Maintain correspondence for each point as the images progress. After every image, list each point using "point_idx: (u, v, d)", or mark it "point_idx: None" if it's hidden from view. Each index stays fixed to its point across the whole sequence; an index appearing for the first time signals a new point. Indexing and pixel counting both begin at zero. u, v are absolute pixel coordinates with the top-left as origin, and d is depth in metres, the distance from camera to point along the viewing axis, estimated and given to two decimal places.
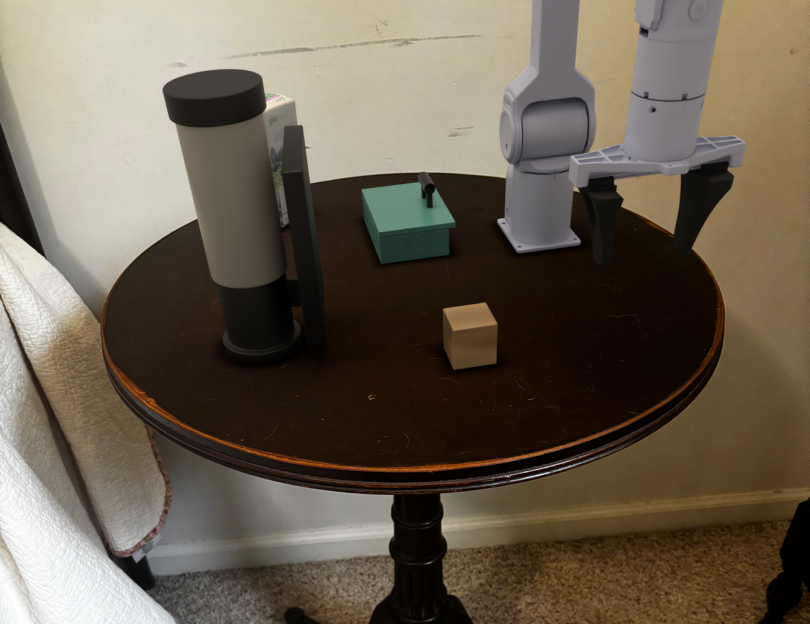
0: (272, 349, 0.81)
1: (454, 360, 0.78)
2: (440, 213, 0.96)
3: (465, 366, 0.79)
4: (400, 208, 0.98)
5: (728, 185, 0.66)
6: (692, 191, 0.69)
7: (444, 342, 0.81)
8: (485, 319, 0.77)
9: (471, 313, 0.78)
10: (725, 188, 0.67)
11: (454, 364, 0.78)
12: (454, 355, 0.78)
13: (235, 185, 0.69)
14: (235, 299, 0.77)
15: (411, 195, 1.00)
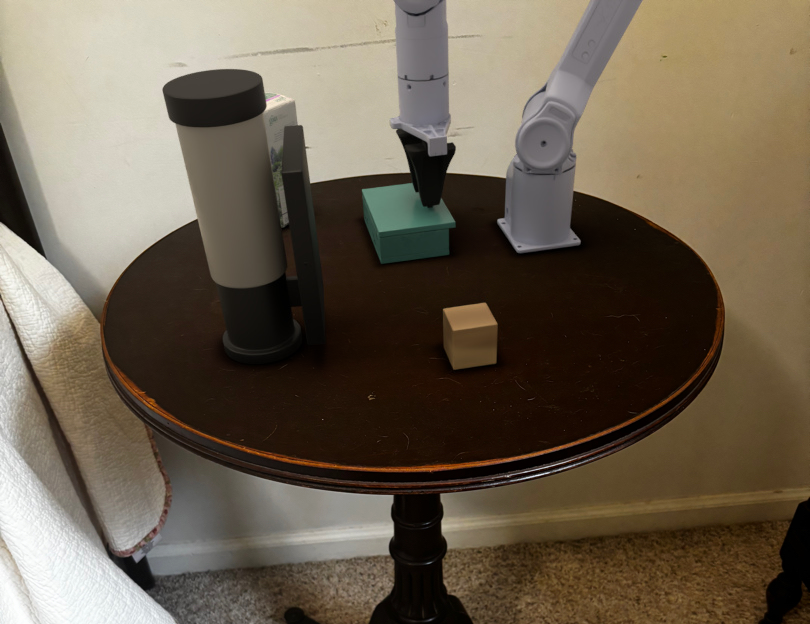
0: (272, 349, 0.81)
1: (454, 360, 0.78)
2: (440, 213, 0.96)
3: (465, 366, 0.79)
4: (400, 208, 0.98)
5: (408, 154, 0.91)
6: None
7: (444, 342, 0.81)
8: (485, 319, 0.77)
9: (471, 313, 0.78)
10: (409, 156, 0.91)
11: (454, 364, 0.78)
12: (454, 355, 0.78)
13: (235, 185, 0.69)
14: (235, 299, 0.77)
15: (411, 195, 1.00)
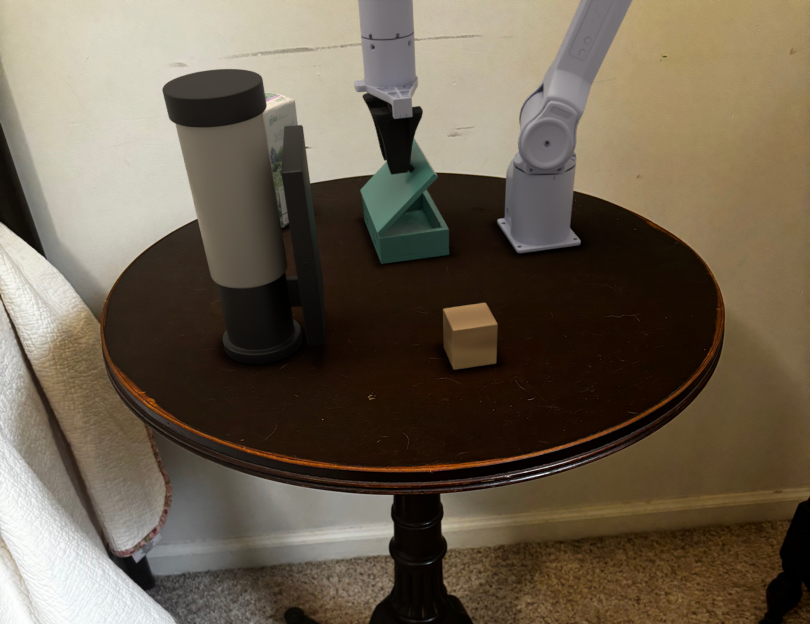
0: (272, 349, 0.81)
1: (454, 360, 0.78)
2: (421, 171, 0.92)
3: (465, 366, 0.79)
4: (390, 190, 0.96)
5: (373, 118, 0.87)
6: None
7: (444, 342, 0.81)
8: (485, 319, 0.77)
9: (471, 313, 0.78)
10: (375, 120, 0.88)
11: (454, 364, 0.78)
12: (454, 355, 0.78)
13: (235, 185, 0.69)
14: (235, 299, 0.77)
15: None
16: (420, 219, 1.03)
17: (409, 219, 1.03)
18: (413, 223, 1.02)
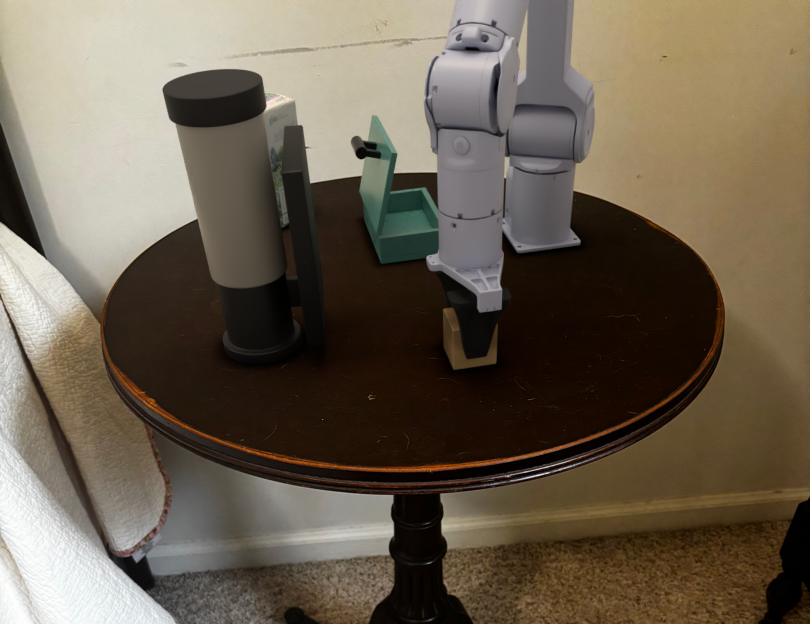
0: (272, 349, 0.81)
1: (454, 360, 0.78)
2: (385, 154, 0.90)
3: (465, 366, 0.79)
4: (373, 184, 0.95)
5: (451, 305, 0.72)
6: None
7: (444, 342, 0.81)
8: None
9: None
10: (453, 307, 0.72)
11: (454, 364, 0.78)
12: (454, 355, 0.78)
13: (235, 185, 0.69)
14: (235, 299, 0.77)
15: None
16: (420, 219, 1.03)
17: (409, 219, 1.03)
18: (413, 223, 1.02)
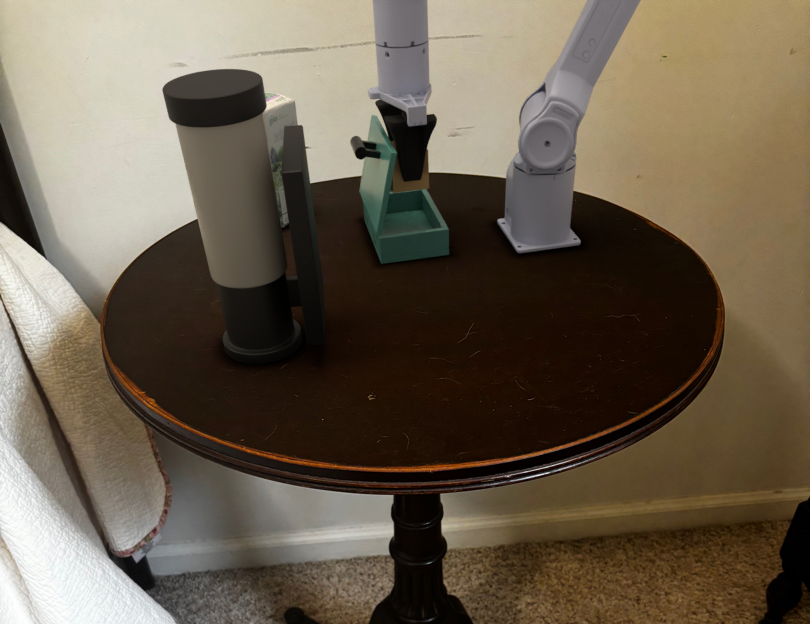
0: (272, 349, 0.81)
1: (393, 183, 0.94)
2: (384, 154, 0.90)
3: (403, 190, 0.94)
4: (373, 184, 0.95)
5: (387, 125, 0.87)
6: None
7: None
8: None
9: None
10: (389, 128, 0.88)
11: (393, 187, 0.94)
12: (393, 178, 0.93)
13: (235, 185, 0.69)
14: (235, 299, 0.77)
15: None
16: (420, 219, 1.03)
17: (409, 219, 1.03)
18: (413, 223, 1.02)
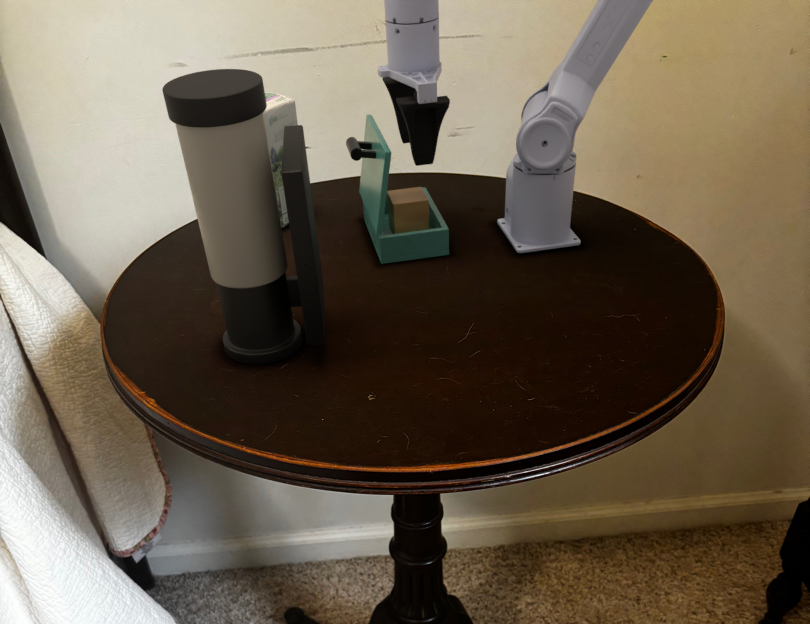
0: (272, 349, 0.81)
1: (395, 231, 0.98)
2: (379, 154, 0.90)
3: None
4: (371, 183, 0.95)
5: (399, 107, 0.86)
6: None
7: (389, 220, 1.01)
8: (419, 197, 0.97)
9: (408, 193, 0.98)
10: (401, 110, 0.86)
11: None
12: (395, 226, 0.98)
13: (235, 185, 0.69)
14: (235, 299, 0.77)
15: None
16: None
17: None
18: None
